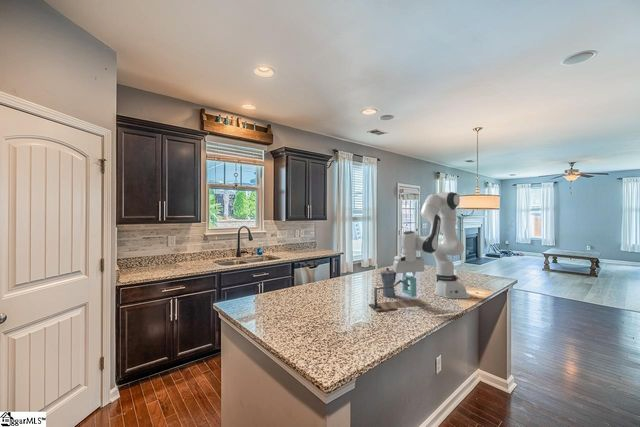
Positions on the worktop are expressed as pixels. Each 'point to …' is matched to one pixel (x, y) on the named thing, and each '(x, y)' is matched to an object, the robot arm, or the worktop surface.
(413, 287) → the teal square frame
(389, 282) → the moka pot
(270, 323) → the worktop surface
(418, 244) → the robot arm
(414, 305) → the board
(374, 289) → the wire
